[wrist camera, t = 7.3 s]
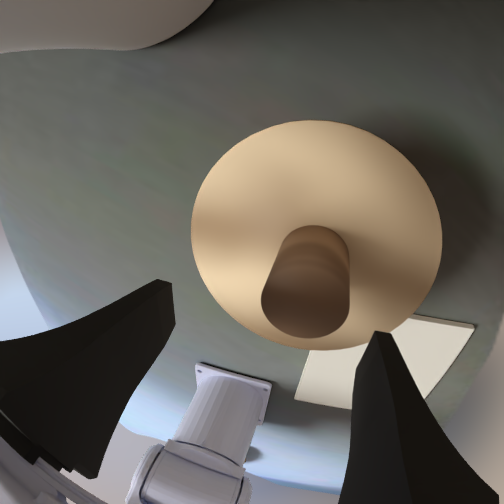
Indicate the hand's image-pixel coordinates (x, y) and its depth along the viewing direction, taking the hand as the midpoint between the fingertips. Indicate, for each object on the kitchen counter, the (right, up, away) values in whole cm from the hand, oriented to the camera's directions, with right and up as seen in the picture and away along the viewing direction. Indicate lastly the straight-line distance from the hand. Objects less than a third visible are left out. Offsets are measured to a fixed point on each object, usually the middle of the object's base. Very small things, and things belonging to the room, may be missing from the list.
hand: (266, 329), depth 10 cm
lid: (+2, +3, +4) cm, 5 cm away
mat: (+11, -7, +13) cm, 18 cm away
